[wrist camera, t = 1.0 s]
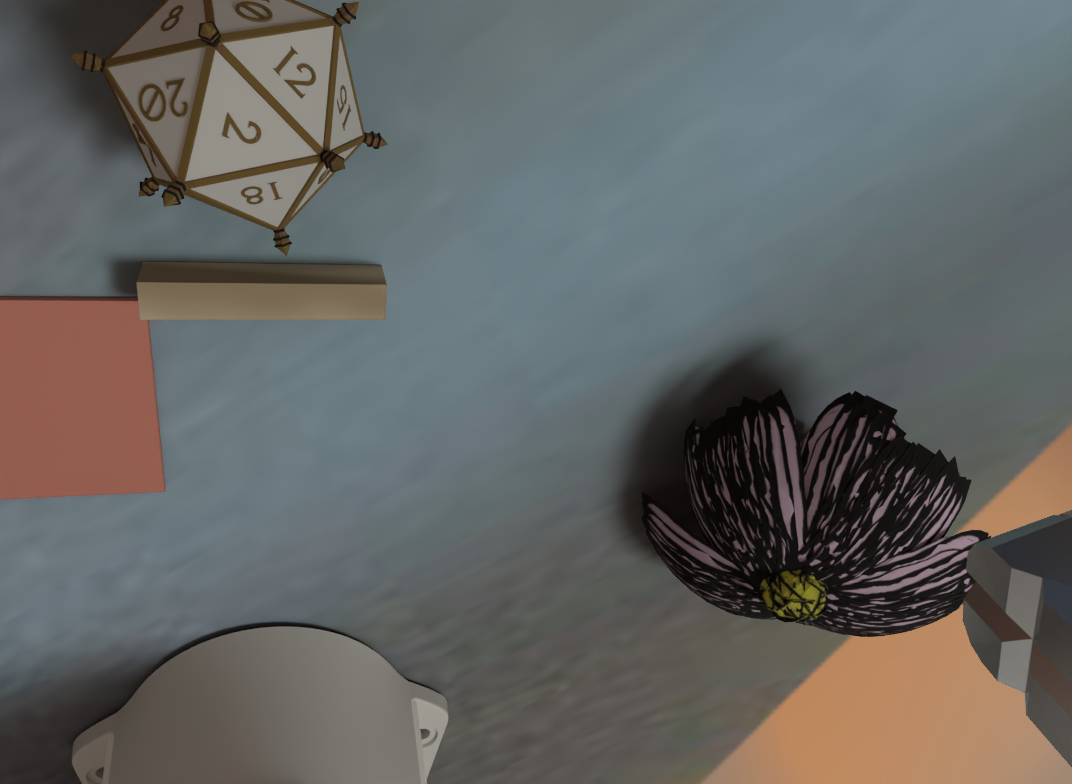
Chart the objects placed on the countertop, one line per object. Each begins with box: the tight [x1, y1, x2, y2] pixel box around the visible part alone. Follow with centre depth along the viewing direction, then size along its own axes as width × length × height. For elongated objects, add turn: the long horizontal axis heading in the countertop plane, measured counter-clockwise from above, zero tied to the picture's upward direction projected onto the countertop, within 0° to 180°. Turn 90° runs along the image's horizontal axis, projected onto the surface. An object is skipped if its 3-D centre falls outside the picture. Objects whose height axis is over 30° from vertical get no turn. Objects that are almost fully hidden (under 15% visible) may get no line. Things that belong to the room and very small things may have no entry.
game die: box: [69, 0, 388, 256], centre depth 29 cm, size 9×8×10 cm
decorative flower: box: [641, 389, 991, 637], centre depth 44 cm, size 15×12×15 cm
